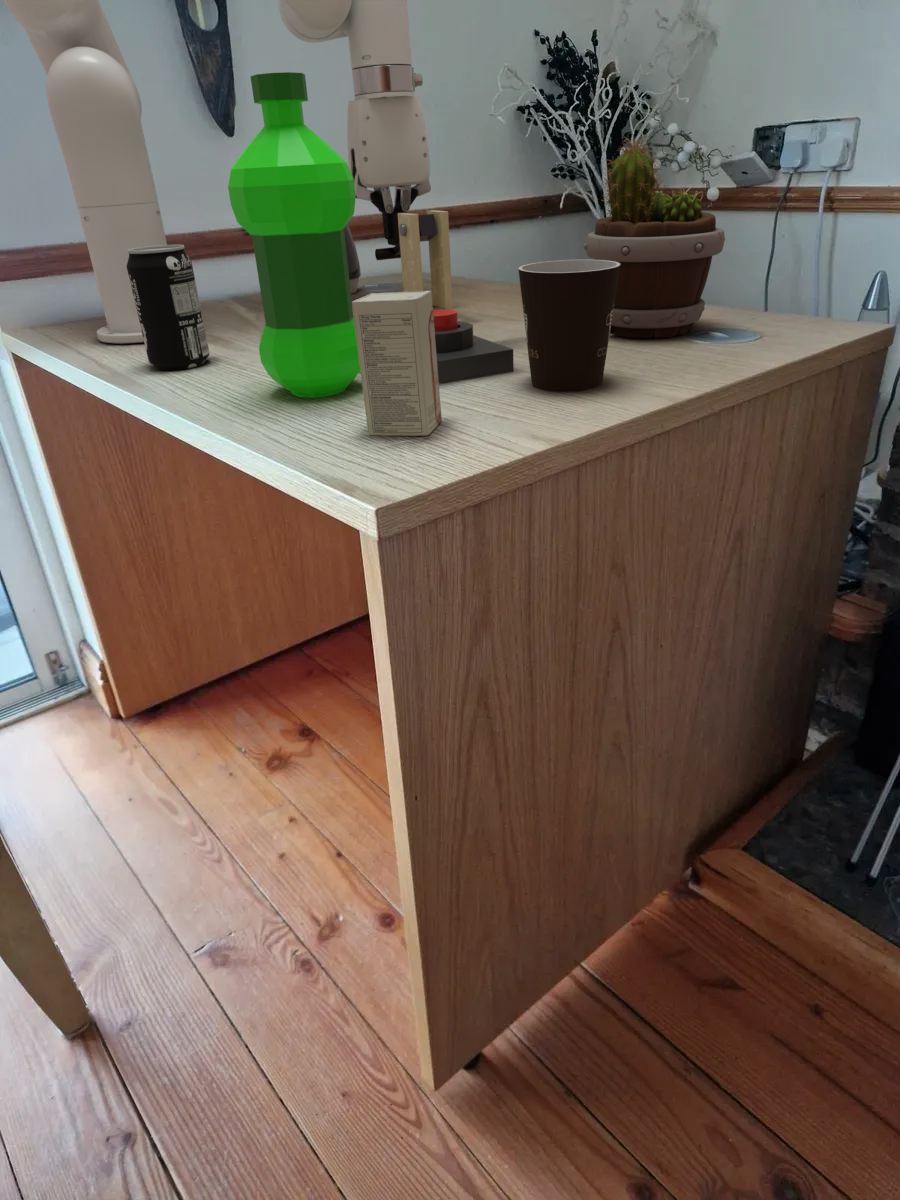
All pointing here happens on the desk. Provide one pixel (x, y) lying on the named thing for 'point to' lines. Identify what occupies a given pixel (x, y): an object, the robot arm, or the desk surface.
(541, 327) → the coffee mug
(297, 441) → the desk surface
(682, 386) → the desk surface
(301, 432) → the desk surface
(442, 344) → the control block
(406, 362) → the medicine carton
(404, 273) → the lever bracket
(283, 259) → the plastic bottle
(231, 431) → the desk surface
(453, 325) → the button
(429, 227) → the lever
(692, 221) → the flowerpot
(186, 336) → the beverage can
